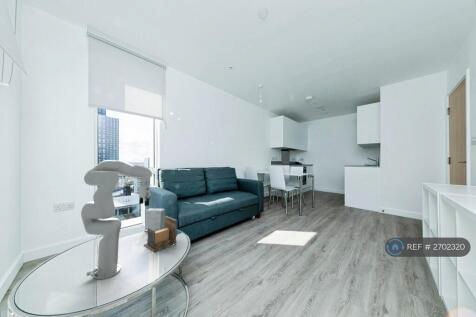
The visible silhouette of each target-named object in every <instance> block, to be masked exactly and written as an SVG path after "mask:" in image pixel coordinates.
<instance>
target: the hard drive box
mask: <svg viewBox="0 0 476 317" xmlns="http://www.w3.org/2000/svg"><path fill="white" fill-rule="evenodd" d="M165 212H166V208H151V207H150V208H148V209H146V210H145V213H144V214H145V217H144V218H145V219H144V222H145V223H144V231H145V230H147V231H148V228H150V229H152V230H154V231H158V230H162V229H164V219H165V216H166V215H165V214H166V213H165Z"/></svg>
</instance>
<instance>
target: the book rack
mask: <svg viewBox="0 0 476 317" xmlns="http://www.w3.org/2000/svg"><path fill="white" fill-rule="evenodd" d="M177 223H178V220H177V219H175V218H173V217H170V216H168V215H165V219H164V229H165V228H168V229H169V240H166V241H163V242H160V243H157V244H155V231H154V230H152V229H150V228H148V232H147V243H144V244H143V246H144V247H145V248H147V249H148V250H149V251H151V252H152V253H156V252H160V251H163V250H165V249H166V248H167V249H168V248H170V247H172V246H171V245H173V244H175V243H176V244H177V231H178V230H177V229H178V228H177V226H178V224H177ZM176 244H175V245H176ZM169 246H170V247H169ZM173 246H174V245H173Z"/></svg>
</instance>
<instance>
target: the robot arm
mask: <svg viewBox="0 0 476 317" xmlns="http://www.w3.org/2000/svg"><path fill="white" fill-rule="evenodd" d="M120 176H124V177H130V178H131V177H132V178H135V179H139V189H138V190H139V193H138V200H139V202H138V204H139V205H143V204H144V207H149V206H150V200H151V199H150V198H151V178H152V176H153V170H152V169H151V168H149V167H146V166H142V165H141V166H140V165H136V164H131V163H128V162H125V161H122V160H109V159H107V160H103V161H101V162H100V163H98V164H96V165H95V166H94V167H92V168H91V169H89V170H88V171H87V172H86V173H85V174H84V177H83V180H84V183H85V184H86V185H88V186H94V187H95V186H96V187H98V186H99V187H98V188H97V189H96V191H95V192H94V193H93V196H92V199H93V200H92V201H89V202H86V203H85V204H84V205H83V206H82V208H81V211H80V215H81V216H80V217H81V219H82V224H83V227H84V231H85V232H86V233H87V234H88V235H93V236H96V235H97V236H102V238H101V239H100V240H99V243H98V247H97V248H98V253H97V266H95V268H94V269H93V270H89V271H86V276H87V277H88V276H90V277H93V279H96V280H104V279H105V280H106V279H109V278H112V277H113V276H116V275H117V274H118V273H119V272H120V271H121V265H120V264H118V263H119V240H120V239H119V238H120V234H121V233H120V232H121V228H122V221H121V220H120V219H119V218H117V217H114V216H115V215H116V206H115V203H114V197H113V192H114V189H115V188H116V186H118V185H117V184H118V183H119V180H120Z"/></svg>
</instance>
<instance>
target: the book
mask: <svg viewBox="0 0 476 317" xmlns="http://www.w3.org/2000/svg"><path fill="white" fill-rule="evenodd" d="M166 240H169V229H168V228H165V229H162V230H158V231H155V244H157V243H160V242H163V241H166Z"/></svg>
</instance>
